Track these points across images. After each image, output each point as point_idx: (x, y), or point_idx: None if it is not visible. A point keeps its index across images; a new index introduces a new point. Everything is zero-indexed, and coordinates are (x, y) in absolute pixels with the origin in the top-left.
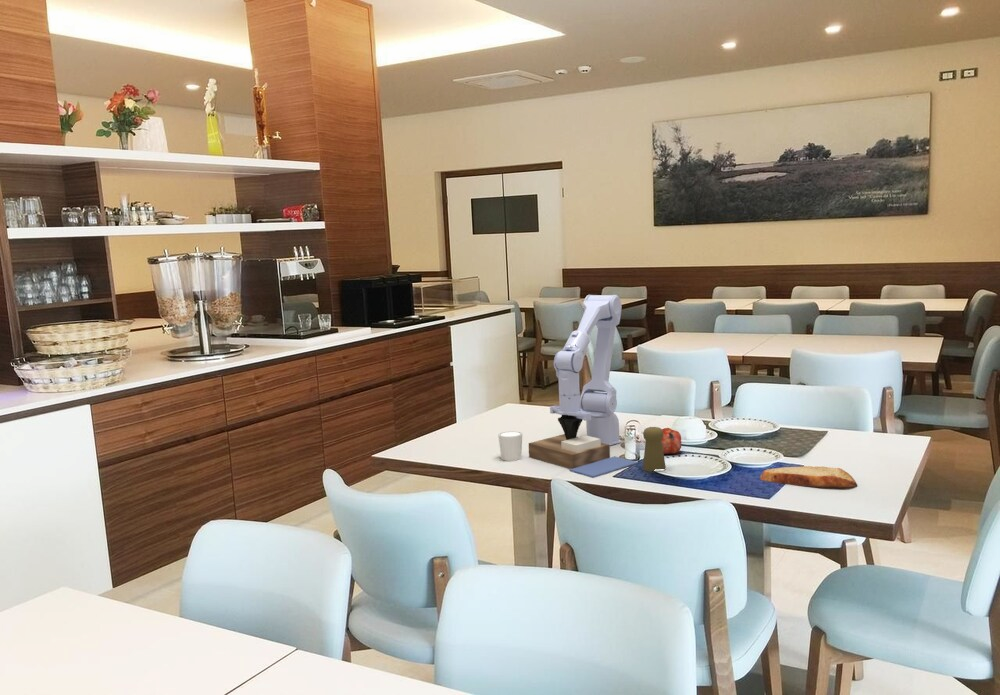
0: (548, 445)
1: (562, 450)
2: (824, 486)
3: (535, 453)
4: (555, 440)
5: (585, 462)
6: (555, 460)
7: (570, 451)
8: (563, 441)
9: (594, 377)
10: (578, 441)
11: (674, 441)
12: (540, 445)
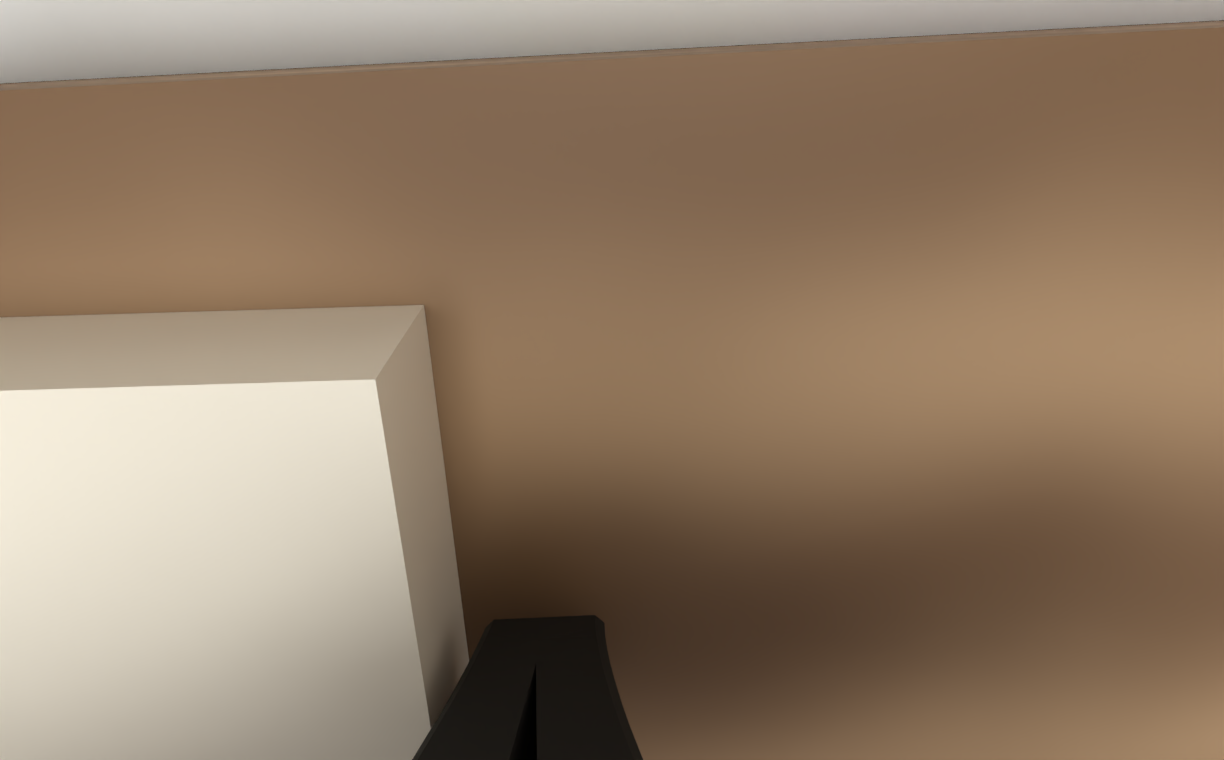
0: (908, 264)
1: (246, 203)
2: None
3: (1112, 28)
4: (1063, 622)
5: None
6: (447, 62)
7: (47, 290)
8: (331, 425)
9: None
10: (69, 681)
11: None
12: (1094, 108)
